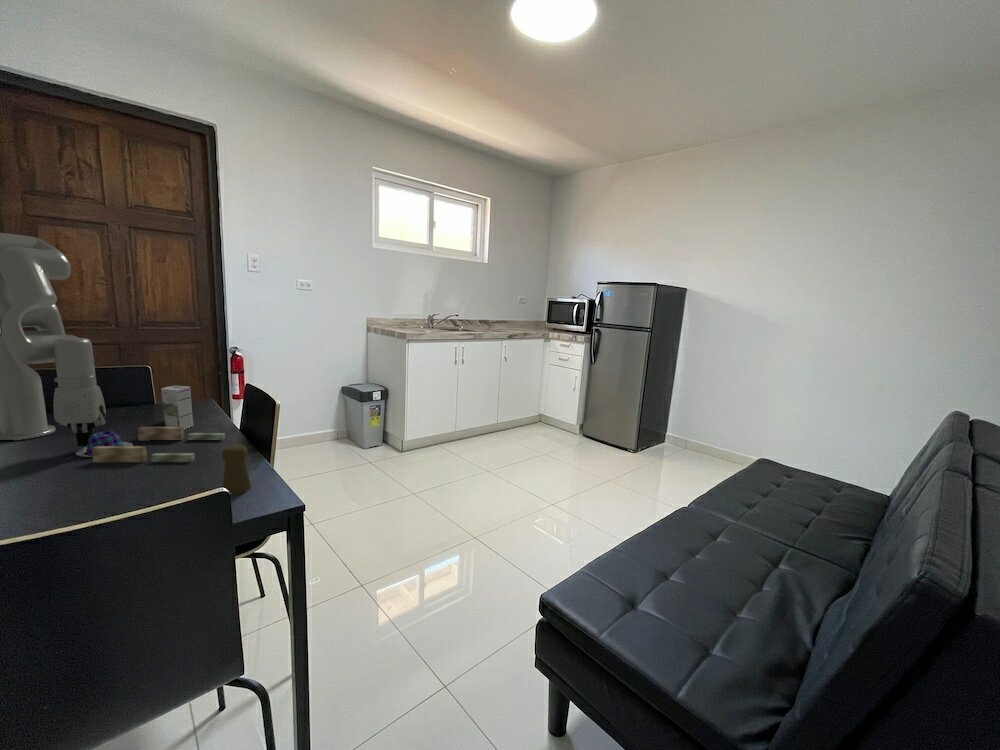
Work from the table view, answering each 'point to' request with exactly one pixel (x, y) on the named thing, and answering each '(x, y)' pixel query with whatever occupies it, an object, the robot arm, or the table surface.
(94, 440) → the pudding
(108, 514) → the table surface
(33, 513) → the table surface
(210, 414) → the table surface
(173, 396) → the syrup box
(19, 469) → the table surface
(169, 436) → the channel
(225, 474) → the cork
